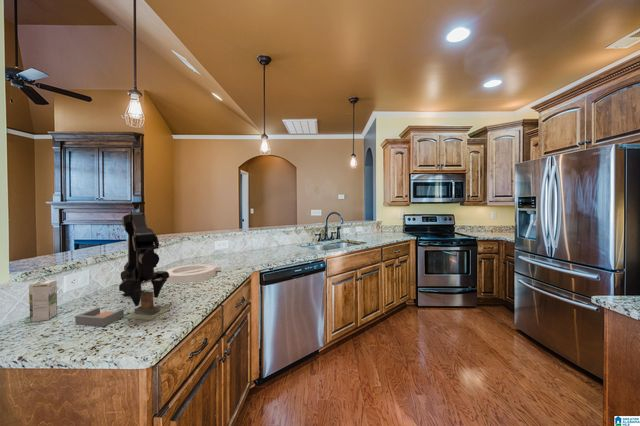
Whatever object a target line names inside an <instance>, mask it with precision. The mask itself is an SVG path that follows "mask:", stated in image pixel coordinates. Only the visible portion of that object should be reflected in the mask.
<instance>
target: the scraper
mask: <svg viewBox="0 0 640 426" xmlns="http://www.w3.org/2000/svg"><path fill="white" fill-rule="evenodd" d="M160 308H161V306H159V305H158V306H157V305H155V304H154V291H144V292H142V293H141V296H140V306H139V307H138V306H137V307H136V308H134V312H135V314H141V315H154V314H156V313H158V312H160Z"/></svg>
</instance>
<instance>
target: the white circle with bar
mask: <svg viewBox="0 0 640 426" xmlns="http://www.w3.org/2000/svg"><path fill="white" fill-rule="evenodd" d="M165 271H167V272H168V273H169V278H167V281H165V283H167V282H168V284H173V283H183V284H191V283H190V282H193V283H197V282H196V281H199V282H202V281H201V280H203V281H207V280H209V278H210V279H212V278H214V277H215V276H216V275H217V274H216V273H217V272H219V271H222V266H220V265H214V264H208V263H199V264H198V263H195V264H186V265H185V264H184V265H180V266H175V267H171V268H169V269H166V270H165ZM213 276H214V277H213ZM211 277H212V278H211ZM206 279H207V280H206Z"/></svg>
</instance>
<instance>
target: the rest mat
mask: <svg viewBox="0 0 640 426" xmlns="http://www.w3.org/2000/svg"><path fill="white" fill-rule="evenodd" d="M168 311H170V308H165V307H164V308H163V307H160V312H158V313H156V314H154V315H141V314H135V311H134V312H131V313H129V314H127V315H124V317H123V318H122V319H129V320H142V321H152V320H154V319H155V318H157V317H160V316H162V315H163V314H165V313H166V312H168Z"/></svg>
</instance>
